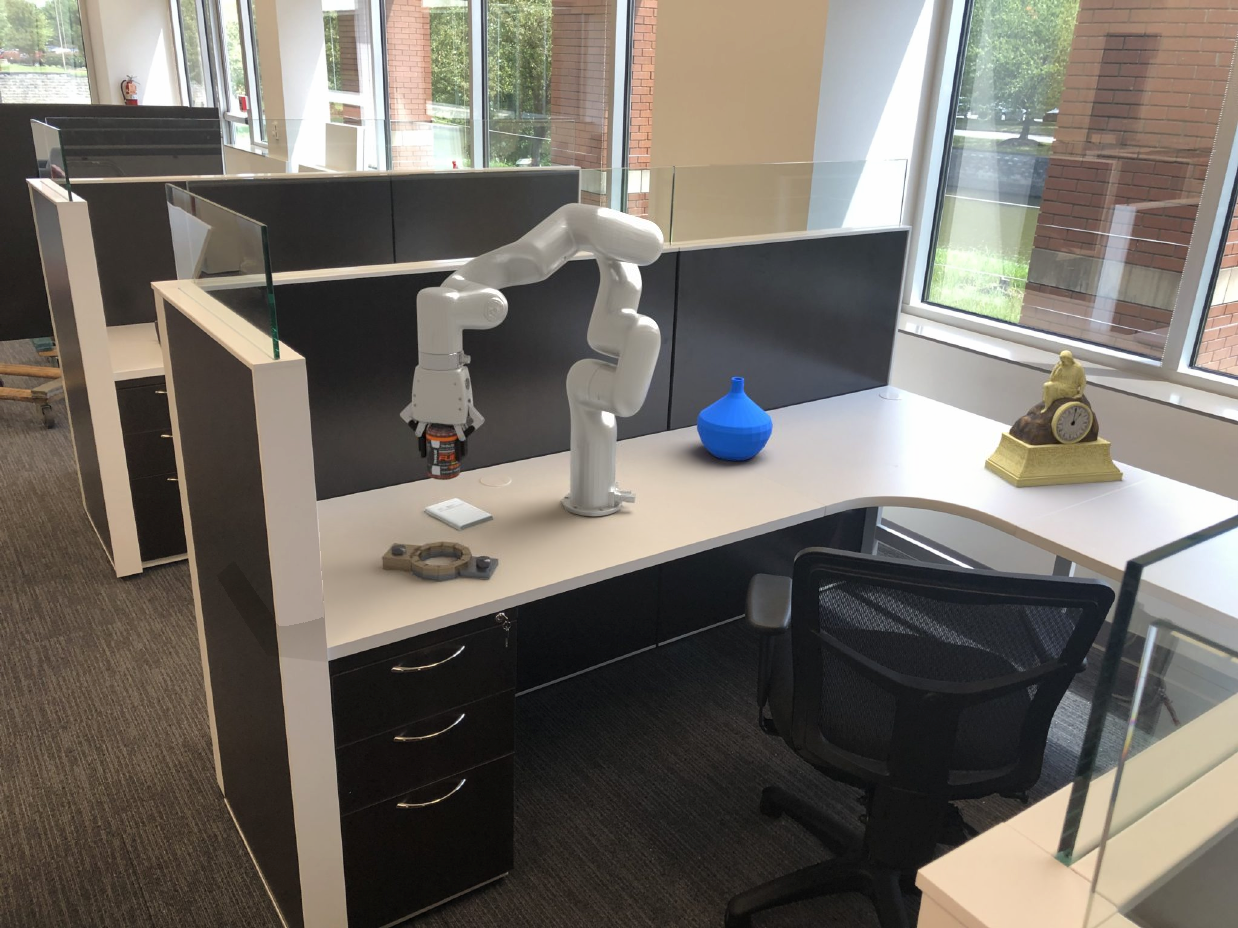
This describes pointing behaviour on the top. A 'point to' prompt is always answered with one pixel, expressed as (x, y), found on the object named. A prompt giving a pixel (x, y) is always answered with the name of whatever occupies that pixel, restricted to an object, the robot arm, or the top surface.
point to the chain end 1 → (410, 554)
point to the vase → (734, 425)
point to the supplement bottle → (441, 452)
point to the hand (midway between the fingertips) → (443, 456)
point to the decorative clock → (1056, 437)
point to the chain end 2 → (476, 569)
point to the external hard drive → (458, 514)
